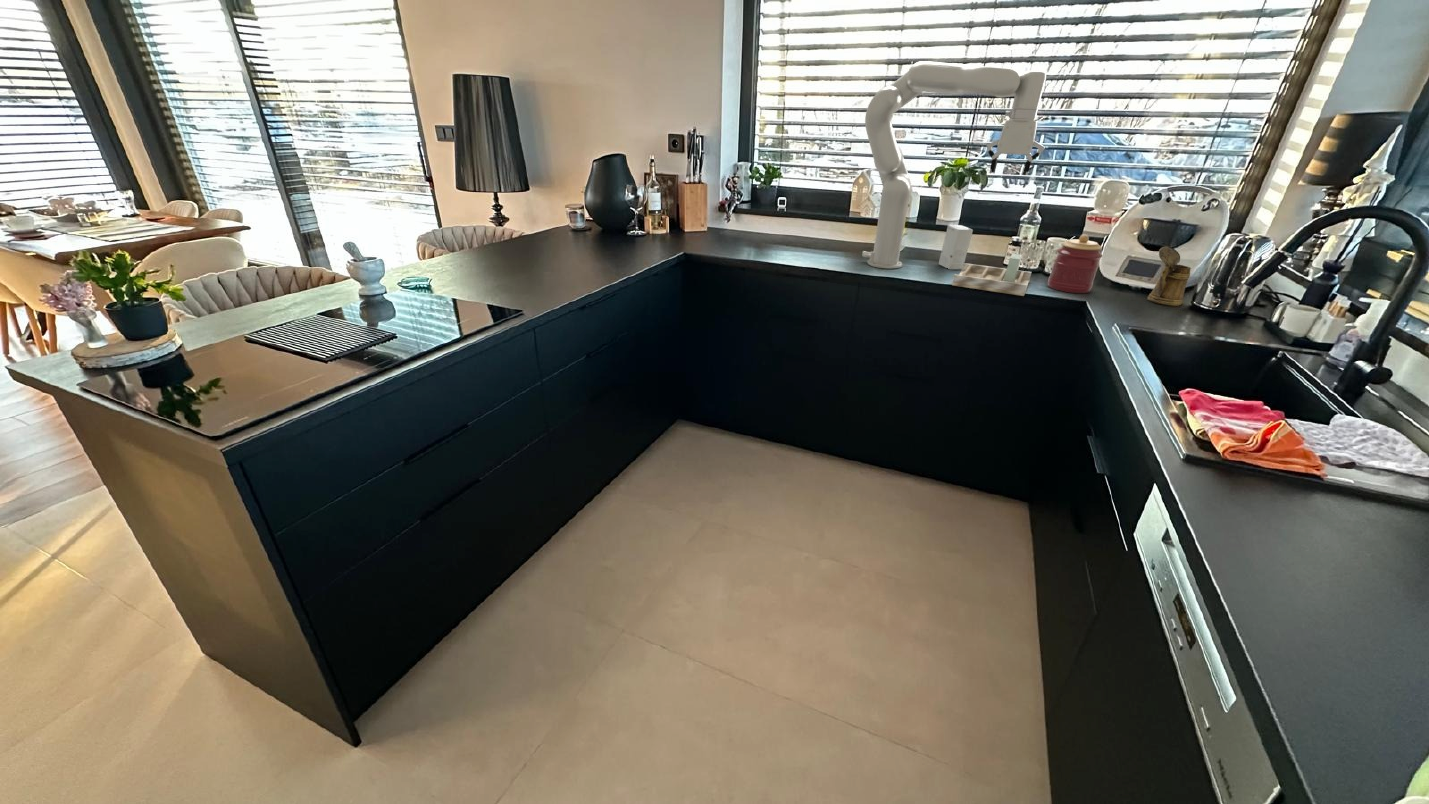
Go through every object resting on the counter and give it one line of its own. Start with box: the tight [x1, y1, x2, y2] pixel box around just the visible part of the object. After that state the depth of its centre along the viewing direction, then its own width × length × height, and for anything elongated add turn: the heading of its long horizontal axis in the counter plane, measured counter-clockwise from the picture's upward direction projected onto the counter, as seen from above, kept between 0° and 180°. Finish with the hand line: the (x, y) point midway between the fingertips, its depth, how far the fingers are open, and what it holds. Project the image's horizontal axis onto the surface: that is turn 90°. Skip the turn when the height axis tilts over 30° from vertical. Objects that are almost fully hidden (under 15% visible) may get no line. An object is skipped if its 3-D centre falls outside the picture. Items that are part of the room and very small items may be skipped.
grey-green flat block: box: [1004, 253, 1023, 283], centre depth 185 cm, size 3×8×9 cm, turn 149°
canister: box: [1047, 234, 1103, 294], centre depth 183 cm, size 13×13×18 cm
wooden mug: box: [1146, 245, 1192, 307], centre depth 170 cm, size 9×14×18 cm, turn 110°
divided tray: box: [951, 262, 1032, 297], centre depth 189 cm, size 22×20×4 cm
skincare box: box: [938, 224, 974, 270], centre depth 207 cm, size 8×6×15 cm
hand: (1008, 173), depth 186 cm, fingers open, 9 cm apart
